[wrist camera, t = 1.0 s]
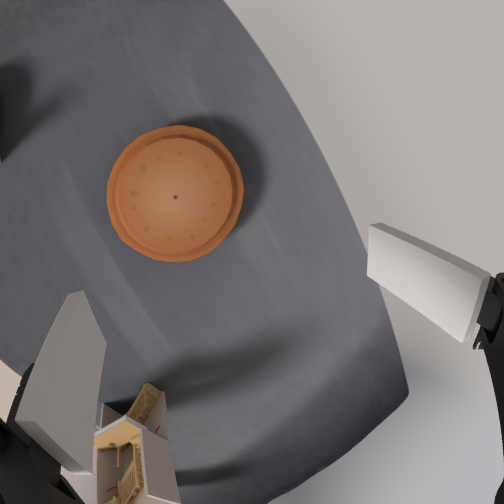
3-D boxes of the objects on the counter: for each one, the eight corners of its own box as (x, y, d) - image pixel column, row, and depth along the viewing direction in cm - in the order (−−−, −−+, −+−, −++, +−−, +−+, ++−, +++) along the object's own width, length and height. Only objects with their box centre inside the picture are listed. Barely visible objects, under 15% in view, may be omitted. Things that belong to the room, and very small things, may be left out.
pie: (125, 119, 28) (119, 113, 24) (248, 143, 34) (261, 141, 29) (105, 243, 32) (97, 256, 28) (221, 259, 37) (230, 274, 33)
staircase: (164, 390, 42) (189, 527, 19) (122, 416, 42) (130, 537, 19) (131, 365, 39) (137, 515, 16) (90, 394, 38) (82, 524, 15)
